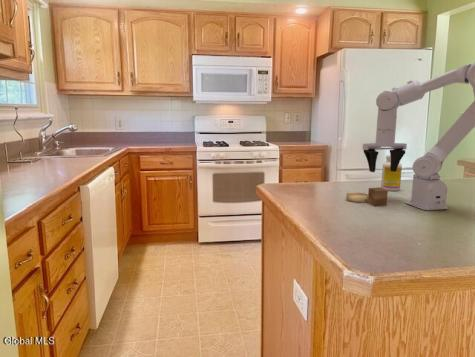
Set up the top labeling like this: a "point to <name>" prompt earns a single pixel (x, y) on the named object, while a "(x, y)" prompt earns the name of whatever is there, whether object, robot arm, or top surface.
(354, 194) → the maple plinth
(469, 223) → the top surface
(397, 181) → the supplement bottle
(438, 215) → the top surface
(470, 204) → the top surface
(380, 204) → the walnut block
